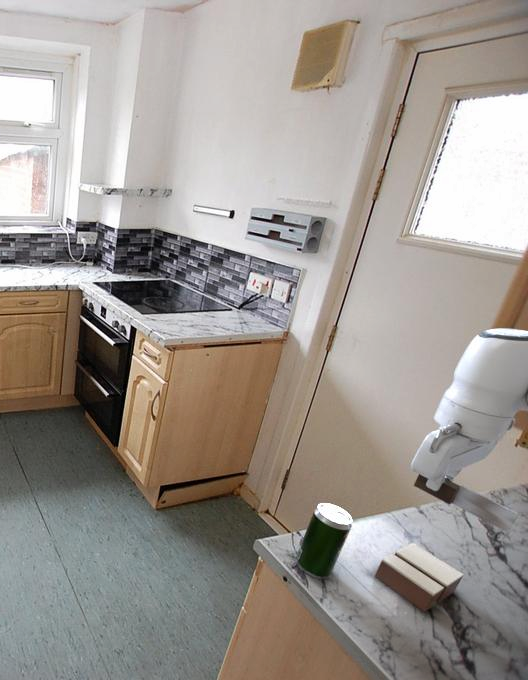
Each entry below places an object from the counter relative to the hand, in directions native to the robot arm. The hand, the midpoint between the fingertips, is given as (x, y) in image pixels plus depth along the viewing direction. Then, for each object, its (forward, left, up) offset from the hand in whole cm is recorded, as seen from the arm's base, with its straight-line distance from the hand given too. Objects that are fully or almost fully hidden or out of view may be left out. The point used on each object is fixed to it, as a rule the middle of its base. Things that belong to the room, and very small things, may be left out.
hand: (437, 485), depth 83 cm
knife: (-4, 0, -2) cm, 4 cm away
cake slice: (-5, +13, -14) cm, 20 cm away
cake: (-5, +8, -14) cm, 17 cm away
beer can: (+4, +24, -14) cm, 28 cm away
